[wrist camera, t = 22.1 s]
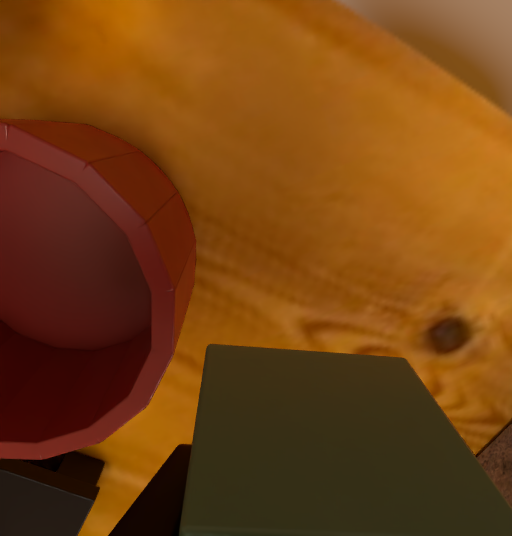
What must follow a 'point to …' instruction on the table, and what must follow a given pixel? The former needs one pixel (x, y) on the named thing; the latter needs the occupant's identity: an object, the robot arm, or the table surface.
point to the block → (329, 451)
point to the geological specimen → (500, 462)
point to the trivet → (47, 496)
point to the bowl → (84, 284)
